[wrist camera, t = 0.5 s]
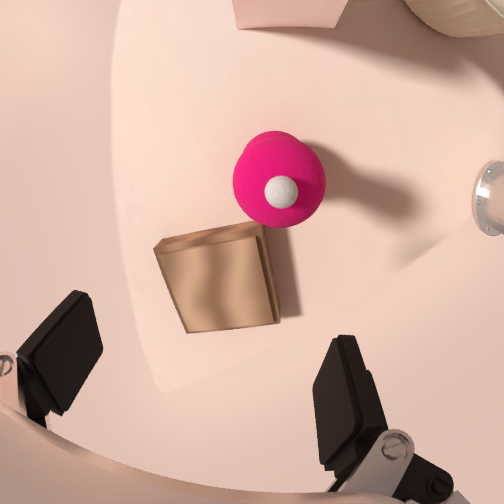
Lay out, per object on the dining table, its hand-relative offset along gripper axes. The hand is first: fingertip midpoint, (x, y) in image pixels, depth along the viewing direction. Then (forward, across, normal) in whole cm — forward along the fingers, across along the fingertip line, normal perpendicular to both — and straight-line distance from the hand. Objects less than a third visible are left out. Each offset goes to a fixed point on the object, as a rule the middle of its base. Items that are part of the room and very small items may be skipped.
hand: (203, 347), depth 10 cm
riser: (+26, +2, +12) cm, 29 cm away
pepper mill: (+27, -2, -4) cm, 27 cm away
